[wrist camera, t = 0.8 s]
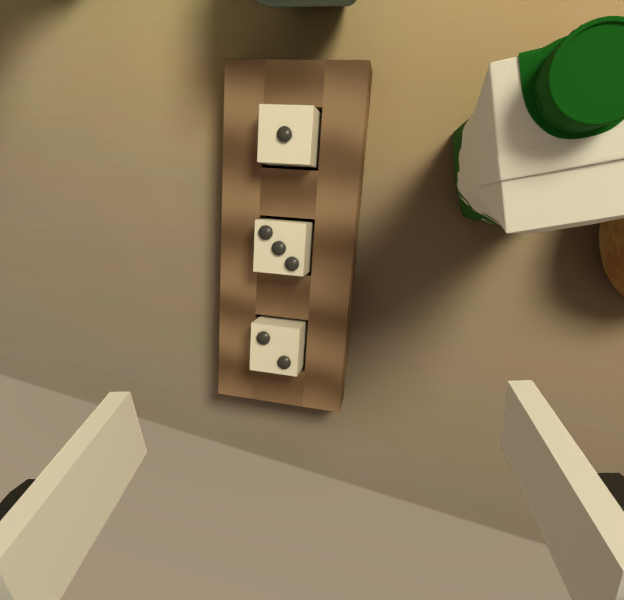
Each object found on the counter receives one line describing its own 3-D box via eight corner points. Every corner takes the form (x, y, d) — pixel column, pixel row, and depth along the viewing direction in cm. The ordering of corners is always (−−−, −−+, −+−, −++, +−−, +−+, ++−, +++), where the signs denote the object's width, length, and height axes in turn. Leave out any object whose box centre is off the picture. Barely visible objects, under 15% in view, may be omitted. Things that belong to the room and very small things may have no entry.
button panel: (343, 398, 44) (338, 412, 41) (229, 381, 46) (218, 393, 43) (372, 71, 37) (369, 60, 34) (237, 69, 39) (224, 58, 37)
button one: (318, 168, 38) (309, 164, 35) (269, 165, 39) (256, 161, 36) (321, 114, 37) (313, 105, 34) (272, 112, 38) (258, 103, 35)
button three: (311, 270, 40) (302, 277, 37) (265, 265, 41) (252, 271, 38) (314, 221, 39) (305, 223, 36) (267, 218, 40) (254, 219, 37)
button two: (305, 363, 42) (296, 377, 39) (261, 357, 43) (248, 370, 40) (308, 318, 41) (299, 329, 38) (263, 313, 42) (250, 323, 39)
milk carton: (554, 98, 35) (735, -29, 16) (562, 212, 37) (737, 221, 18) (440, 123, 37) (480, 36, 18) (453, 230, 39) (502, 256, 20)
